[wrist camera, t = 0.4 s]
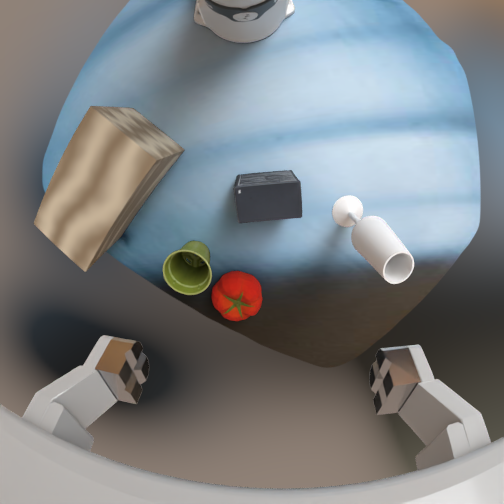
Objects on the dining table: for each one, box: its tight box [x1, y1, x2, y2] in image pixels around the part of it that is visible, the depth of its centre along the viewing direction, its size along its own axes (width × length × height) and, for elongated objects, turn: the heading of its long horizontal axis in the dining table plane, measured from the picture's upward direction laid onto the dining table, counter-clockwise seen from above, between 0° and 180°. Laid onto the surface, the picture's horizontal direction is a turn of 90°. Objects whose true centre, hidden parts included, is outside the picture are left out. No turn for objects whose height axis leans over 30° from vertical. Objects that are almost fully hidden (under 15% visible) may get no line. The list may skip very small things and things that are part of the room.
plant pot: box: [163, 241, 212, 295], centre depth 55 cm, size 9×9×9 cm
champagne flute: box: [332, 195, 414, 284], centre depth 44 cm, size 7×7×24 cm
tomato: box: [212, 271, 262, 321], centre depth 59 cm, size 11×11×8 cm
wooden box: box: [34, 106, 184, 272], centre depth 45 cm, size 14×24×16 cm, turn 138°
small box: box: [234, 170, 302, 223], centre depth 49 cm, size 11×6×10 cm, turn 96°
